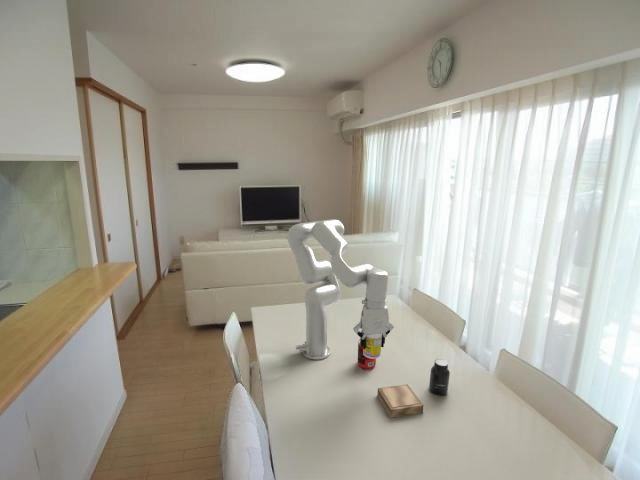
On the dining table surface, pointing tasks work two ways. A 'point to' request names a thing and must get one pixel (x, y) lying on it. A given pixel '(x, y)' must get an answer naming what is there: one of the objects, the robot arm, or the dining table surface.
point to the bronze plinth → (400, 400)
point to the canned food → (364, 359)
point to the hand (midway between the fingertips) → (372, 345)
